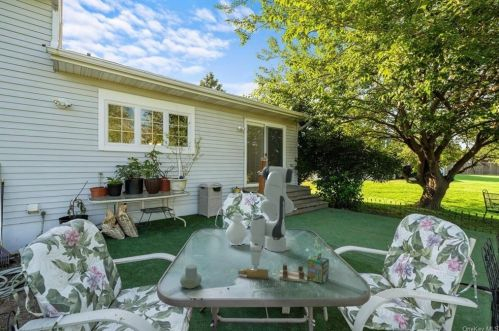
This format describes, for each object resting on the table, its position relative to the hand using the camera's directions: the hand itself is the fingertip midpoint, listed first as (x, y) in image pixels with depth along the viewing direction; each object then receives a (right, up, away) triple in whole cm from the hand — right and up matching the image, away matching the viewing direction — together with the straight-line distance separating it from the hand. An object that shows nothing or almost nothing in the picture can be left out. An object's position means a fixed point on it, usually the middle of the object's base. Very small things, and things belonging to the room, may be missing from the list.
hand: (256, 268), depth 145 cm
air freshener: (-35, -3, -15) cm, 38 cm away
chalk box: (+35, -5, -4) cm, 35 cm away
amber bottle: (-2, -2, 0) cm, 2 cm away
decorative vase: (-15, -5, +61) cm, 63 cm away
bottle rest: (+21, -5, -2) cm, 21 cm away
